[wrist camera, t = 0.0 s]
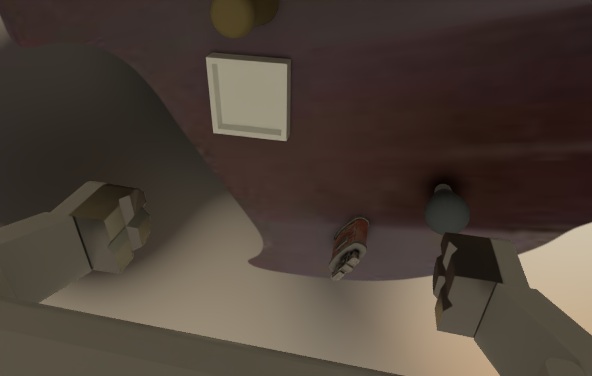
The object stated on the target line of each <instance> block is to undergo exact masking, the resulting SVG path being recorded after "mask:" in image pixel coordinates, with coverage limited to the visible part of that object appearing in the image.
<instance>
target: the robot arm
mask: <svg viewBox="0 0 592 376" xmlns="http://www.w3.org/2000/svg"><path fill="white" fill-rule="evenodd" d="M145 203H146V198H145V195H144V192H143V191H142V190H141V189H138V188H132V187H126V186H120V185H114V184H106V183H101V182H94V181H92V182H86V183H85V184H84V185H83V186H82V187H80V188H79V189H78V190H77V191H76V192H74V193H73V194H72V195H71V196H70V197H69V198H67V199H66V200H65V201H64V202H62V203H61V204H60V205H59V206H58V207H56V208H55V209H54V210H53V211H52V212H50V213H47V212H44V213H41V214H39V215H35V216H32V217H30V218H27V219H24V220H21V221H18V222H15V223H13V224H10V225H7V226H4V227H1V228H0V376H402V375H397V374H392V373H387V372H382V371H377V370H372V369H367V368H362V367H357V366H351V365H346V364H342V363H337V362H332V361H326V360H322V359H317V358H311V357H307V356H302V355H296V354H292V353H286V352H282V351H277V350H272V349H266V348H261V347H257V346H251V345H246V344H241V343H236V342H231V341H226V340H221V339H216V338H211V337H206V336H201V335H196V334H191V333H186V332H181V331H175V330H170V329H165V328H160V327H154V326H150V325H145V324H140V323H135V322H130V321H124V320H120V319H115V318H109V317H105V316H99V315H94V314H89V313H84V312H79V311H74V310H69V309H64V308H58V307H54V306H49V305H44V304H39V302H41V301H42V300H44V299H46V298H47V297H49V296H51V295H52V294H54V293H56V292H58V291H59V290H61V289H63V288H64V287H66V286H67V285H69V284H71V283H73V282H74V281H76V280H77V279H79V278H81V277H82V276H84V275H86V274H87V273H89V272H91V271H92V270H98V271H105V272H112V273H118V274H120V273H121V272H122V271H123V270H124V268H125V267H126V266H127V265H128V263H129V262H130V261H131V260H132V258H133V250H135V249H137V248H139V247H141V246H142V245H143V244H144V243H145V241H146V240H147V238H148V236H149V232H150V230H151V220H150V215H149V214H148V213H147V211H146V210H145V209H144V208H143V206H144V204H145ZM441 252H442V255H440V256H439V257H437V259H436V263H435V267H434V274H433V294H434V295H435V297H436V298H437V303H436V306H435V315H436V324H437V330H438V331H443V332H448V333H453V334H458V335H463V336H467V337H473V338H474V340H475V342H476V343H477V345H478V346H479V347H480V349H481V350H482V351H483V353H484V354H485V355H486V357H487V358H488V360H489V361H490V362H491V364H492V365H493V366H494V368H495V369H496V370H497V372H498V373H499V374H500V376H592V335H590V334H589V333H588V332H587V331H585V330H584V329H583V328H582V327H581V326H580V325H578V324H577V323H576V322H575V321H574V320H572V319H571V318H570V317H569V316H568V315H567V314H565V313H564V312H563V311H562V310H561V309H559V308H558V307H557V306H556V305H555V304H553V303H552V302H551V301H550V300H548V299H547V298H546V297H545V296H544V295H543V294H541V293H540V292H539V291H538V290H536V289H531V288H530V287H529V285H528V282H527V279H526V276H525V274H524V271H523V268H522V266H521V263H520V260H519V258H518V255H517V252H516V250H515V247H514V244H513V242H512V241H511V240H508V239H499V238H491V237H488V238H485V237H478V236H470V235H463V234H456V233H448V232H445V234H444V236H443V238H442V242H441ZM91 269H92V270H91Z"/></svg>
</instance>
